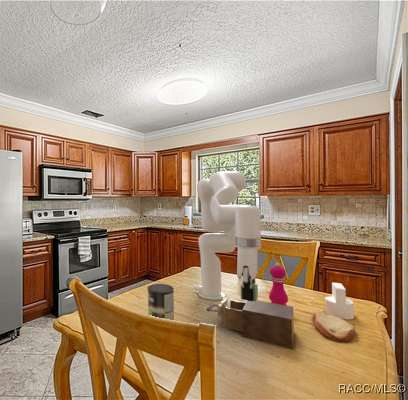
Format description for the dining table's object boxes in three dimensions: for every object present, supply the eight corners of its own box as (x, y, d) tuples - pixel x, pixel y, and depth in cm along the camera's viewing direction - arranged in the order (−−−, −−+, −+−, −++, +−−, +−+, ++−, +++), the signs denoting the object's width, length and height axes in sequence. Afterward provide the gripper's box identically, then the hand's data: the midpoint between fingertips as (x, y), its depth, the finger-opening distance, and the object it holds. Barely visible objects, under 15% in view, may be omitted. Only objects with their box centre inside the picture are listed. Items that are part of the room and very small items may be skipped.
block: (255, 301, 87) (255, 288, 87) (240, 299, 90) (240, 285, 90) (257, 297, 91) (257, 284, 91) (243, 295, 93) (243, 282, 93)
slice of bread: (320, 315, 113) (320, 305, 113) (375, 334, 96) (374, 324, 96) (289, 322, 107) (288, 312, 107) (341, 344, 90) (340, 333, 90)
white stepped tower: (356, 321, 106) (355, 290, 107) (327, 316, 111) (326, 287, 111) (350, 312, 114) (350, 284, 114) (323, 308, 119) (323, 281, 119)
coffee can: (151, 329, 103) (151, 292, 103) (145, 318, 113) (145, 284, 114) (178, 328, 104) (177, 291, 104) (170, 316, 114) (169, 283, 114)
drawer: (204, 324, 105) (204, 303, 105) (212, 313, 114) (212, 295, 114) (258, 337, 94) (257, 314, 94) (262, 324, 103) (261, 304, 103)
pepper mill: (291, 311, 117) (290, 265, 117) (272, 310, 118) (271, 264, 118) (284, 305, 124) (283, 261, 124) (266, 304, 125) (265, 261, 125)
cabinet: (242, 336, 96) (242, 309, 97) (248, 323, 107) (248, 298, 107) (292, 349, 88) (291, 319, 88) (293, 333, 98) (293, 306, 98)
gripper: (240, 238, 99) (241, 289, 99) (230, 245, 86) (231, 303, 86) (264, 240, 95) (265, 292, 95) (256, 247, 81) (258, 308, 81)
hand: (249, 297), depth 90 cm, fingers closed on block, 4 cm apart
